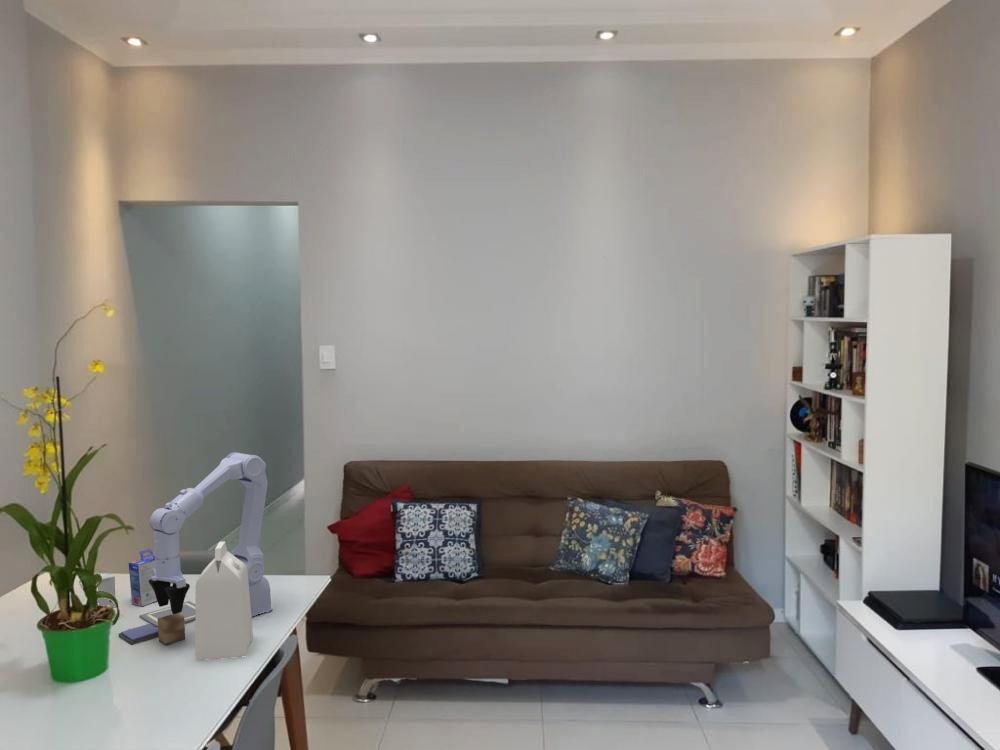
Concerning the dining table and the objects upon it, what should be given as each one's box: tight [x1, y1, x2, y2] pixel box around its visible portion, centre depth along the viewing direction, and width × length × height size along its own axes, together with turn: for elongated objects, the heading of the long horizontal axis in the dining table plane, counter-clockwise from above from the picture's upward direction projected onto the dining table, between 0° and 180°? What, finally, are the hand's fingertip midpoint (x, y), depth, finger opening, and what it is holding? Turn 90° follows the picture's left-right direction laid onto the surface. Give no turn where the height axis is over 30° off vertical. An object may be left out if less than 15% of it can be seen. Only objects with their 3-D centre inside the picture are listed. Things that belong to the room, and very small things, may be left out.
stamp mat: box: [138, 600, 195, 629], centre depth 216 cm, size 14×14×1 cm
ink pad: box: [118, 623, 159, 646], centre depth 203 cm, size 8×8×1 cm
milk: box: [194, 540, 254, 661], centre depth 193 cm, size 12×12×26 cm
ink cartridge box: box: [128, 548, 172, 607], centre depth 228 cm, size 10×6×14 cm, turn 148°
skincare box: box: [98, 572, 116, 607], centre depth 214 cm, size 6×4×12 cm
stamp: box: [157, 613, 186, 647], centre depth 200 cm, size 5×4×6 cm
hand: (170, 609), depth 199 cm, fingers open, 7 cm apart
